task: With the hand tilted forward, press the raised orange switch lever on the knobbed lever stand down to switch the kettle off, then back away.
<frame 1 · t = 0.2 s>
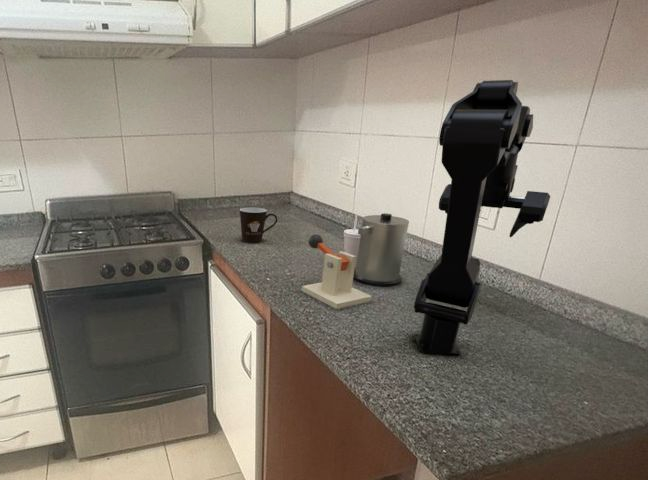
hand: (486, 232, 95), 15 cm above the worktop, tool tilted 35°, fingers open, 9 cm apart
coffee mug: (256, 241, 144), on the worktop
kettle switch: (326, 251, 99), point 9 cm above the worktop, hinge at 18.0°
knobbed lever stand: (335, 297, 99), on the worktop
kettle: (375, 280, 111), on the worktop
smoothie: (351, 267, 120), on the worktop
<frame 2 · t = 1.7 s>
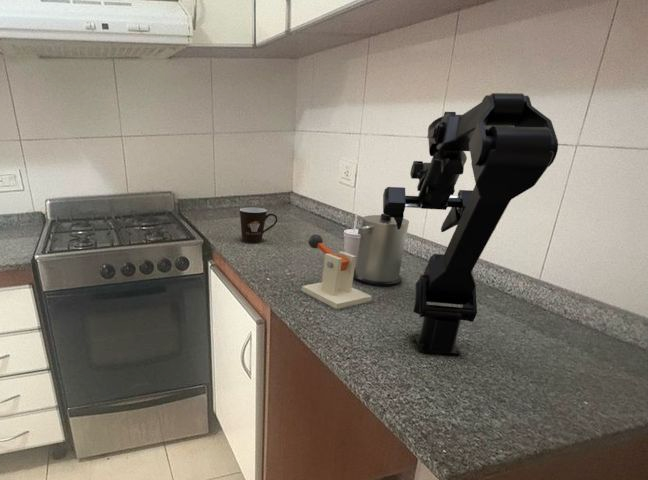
hand: (420, 229, 98), 15 cm above the worktop, tool tilted 35°, fingers open, 9 cm apart
nothing on the worktop moved.
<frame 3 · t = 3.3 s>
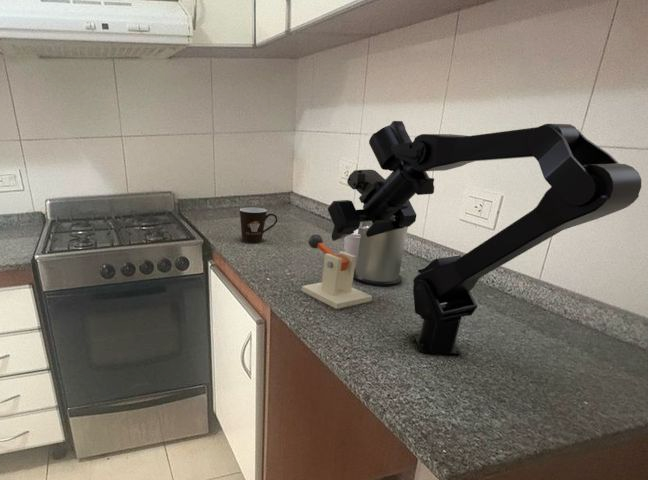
hand: (350, 237, 94), 14 cm above the worktop, tool tilted 45°, fingers open, 9 cm apart
nothing on the worktop moved.
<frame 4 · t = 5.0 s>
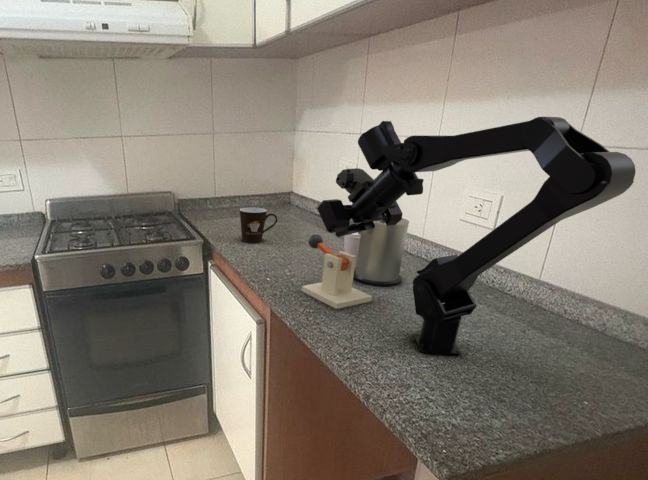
hand: (337, 235, 95), 14 cm above the worktop, tool tilted 45°, fingers closed
nothing on the worktop moved.
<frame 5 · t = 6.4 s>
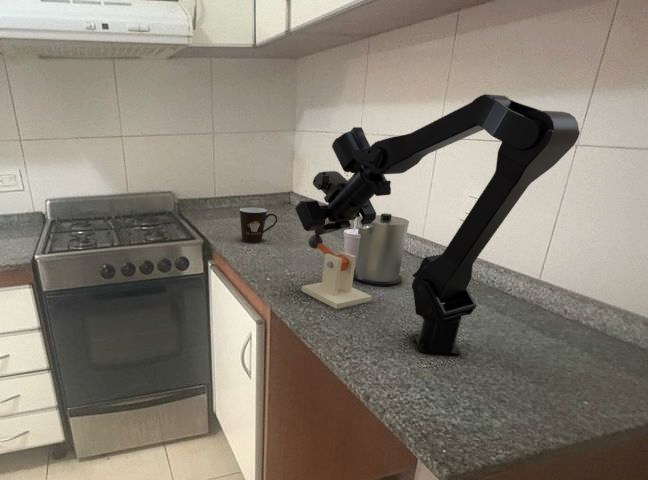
hand: (316, 233, 101), 13 cm above the worktop, tool tilted 45°, fingers closed, pressing on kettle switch
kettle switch: (326, 251, 99), point 9 cm above the worktop, hinge at 17.6°, touching gripper
everything else where it was.
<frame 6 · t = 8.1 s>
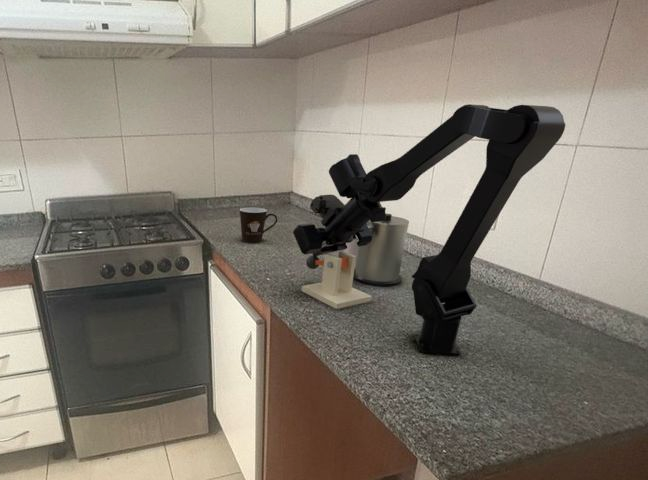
hand: (313, 254, 103), 8 cm above the worktop, tool tilted 45°, fingers closed
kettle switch: (325, 262, 100), point 7 cm above the worktop, hinge at -14.4°
everything else where it was.
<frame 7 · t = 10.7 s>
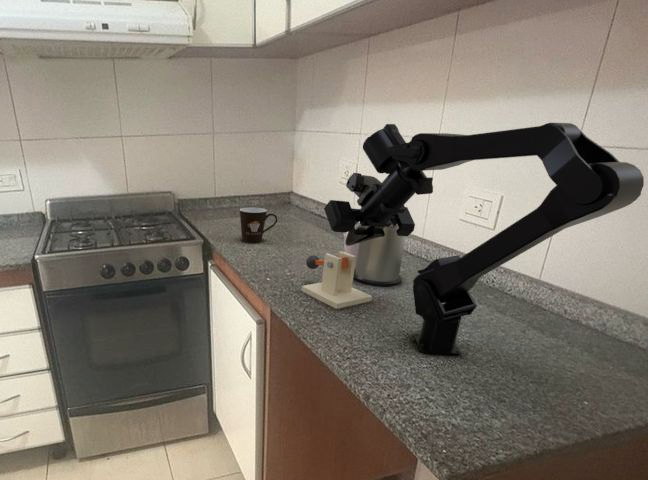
hand: (347, 243, 93), 13 cm above the worktop, tool tilted 40°, fingers closed
nothing on the worktop moved.
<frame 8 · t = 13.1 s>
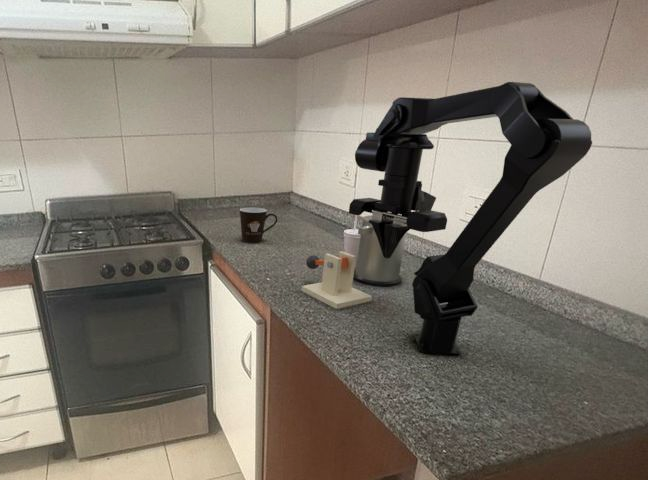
hand: (387, 257, 86), 12 cm above the worktop, tool pointing down, fingers closed
nothing on the worktop moved.
at the end: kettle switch at -14° (first picture: +18°); smoothie moved 0.2 cm from its start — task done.
